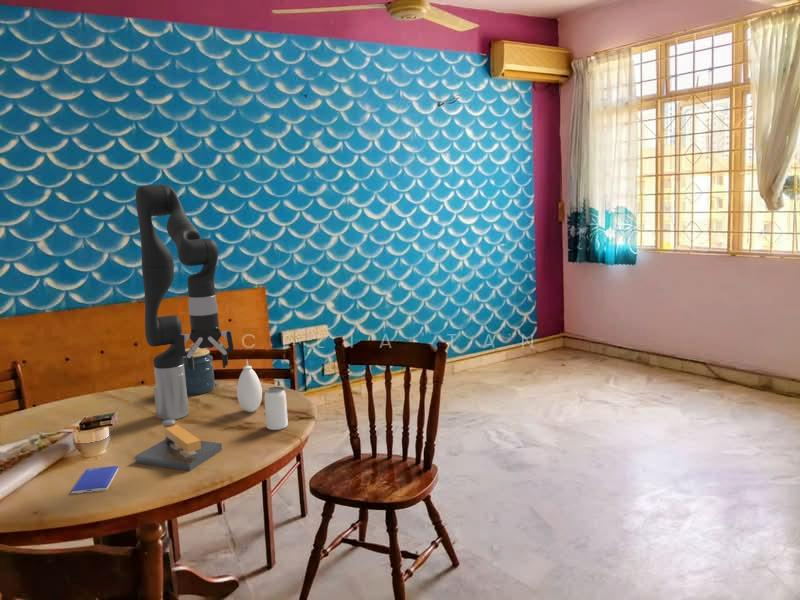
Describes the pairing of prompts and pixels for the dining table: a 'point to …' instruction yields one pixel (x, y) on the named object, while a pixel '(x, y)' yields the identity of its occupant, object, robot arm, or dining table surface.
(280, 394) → the can
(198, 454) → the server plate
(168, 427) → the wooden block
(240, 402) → the sauce bottle
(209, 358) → the canister
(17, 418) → the dining table surface
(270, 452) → the dining table surface
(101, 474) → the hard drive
